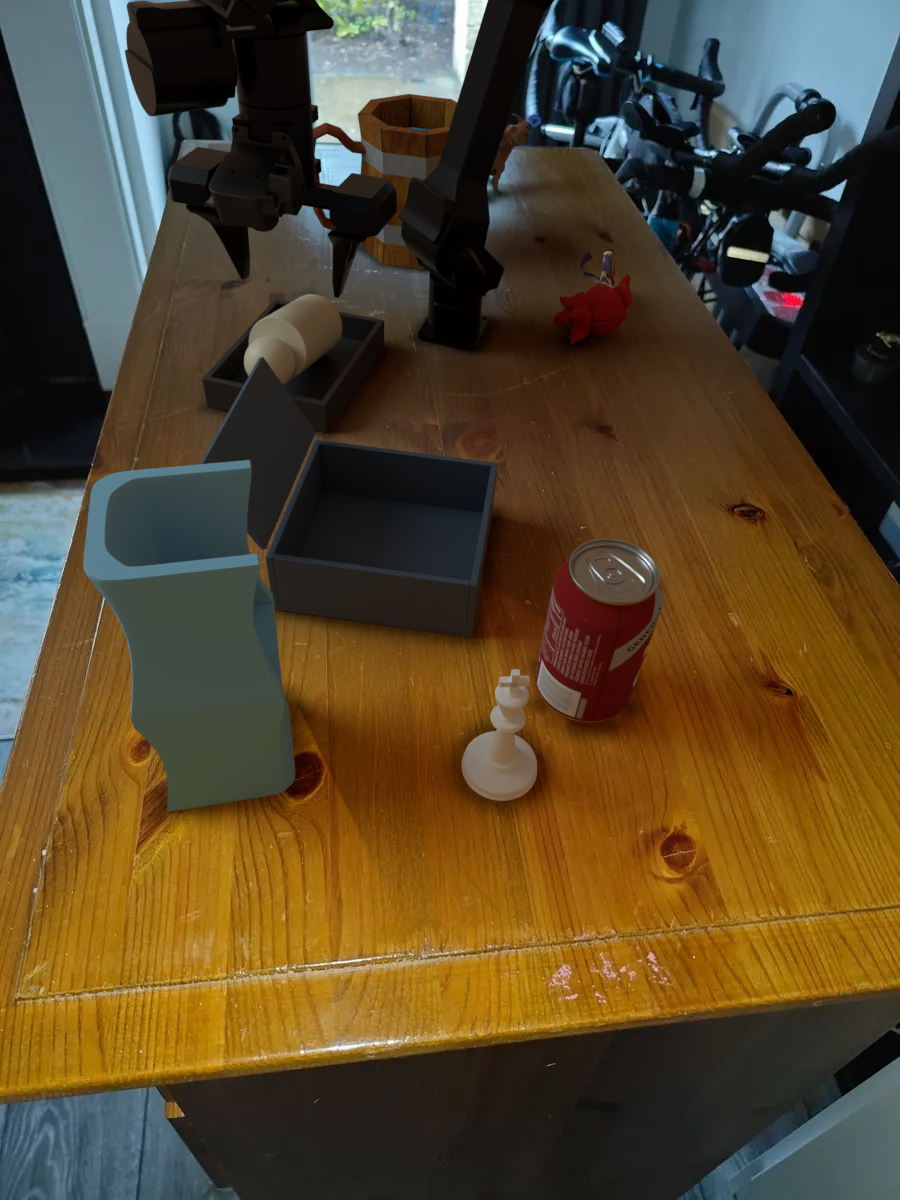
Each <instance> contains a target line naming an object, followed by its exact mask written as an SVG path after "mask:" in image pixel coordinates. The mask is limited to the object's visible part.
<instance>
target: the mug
mask: <svg viewBox="0 0 900 1200" xmlns="http://www.w3.org/2000/svg"><path fill="white" fill-rule="evenodd" d="M457 102H458V101H457V100H454V99H453V98H445V97H437V96H429V95H421V94H414V93H405V94H399V95H392V96H385V97H379V98H371V99H370V100H369V101H368V102H367V103H366V104H365V105H364V106H363V107H362V109H360V111H359V112H358V113H357V118H358V120H357V121H358V126H359V135H360V141H359V140H354V139H352V137H350V136H349V135H348V134H347V133H346V132H345V130H343V129H342V128H341V127H340V126H337V125H334V124H331V123H328V122H324V123H322V124H319V125H318V126H316V127H313V136H314V153H315V154H316V146H317V145H316V144H317V140H318V139H320V138H322V137H323V136H326V135H328V136H331V137H333V138H335V139H337V140H338V141H339V142H340V144H341V145H342V146H343V147H344V148H345V149H347V150H348V151H349V152H351V153H352V154H359V155H361V161H360V162H361V163H360V174H361V175H367V176H373V177H379V178H385V179H389V180H390V181H391V183H392V185H393V186H394V188H395V190H396V192H397V212H396V213H395V215H394V216H393V217H392V218H391V219H390V221H389V222H388V223H387V224H386V225H385V227H384V228H383V229H382V230H381V231H380V233H379V234H378V235H377V236H372V237H367V238H366V240H365V241H363V242H361V247H362V249H363V250H365V251H366V252H367V253H369V254H370V255H371V256H372V257H373V258H374V259H375V260H377V261H378V262H379V263H380V264H381V265H385V266H386V265H387V266H392V267H400V268H407V269H414V270H419V271H427V270H426V269H425V268H424V267H423V266H420V265H418V264H417V262H416V259H415V256H414V254H413V253H412V252H411V251H410V250H409V249H408V248H407V247H406V245H405V243H404V241H403V238H402V237H401V228H402V220H400V219H399V218H398V216H399V214H400V213H401V211H402V210H403V207H404V205H405V202H406V199H407V193H408V186H409V183H410V181H411V179H412V178H413V177H416V178H418V179H420V180H422V181H424V180H425V179H426V178H427V177H428V176H429V175H430V173H431V172H432V171H433V170H434V169H435V168H436V167H437V165H438V163H439V161H440V158H441V155H442V152H443V148H444V145H445V142H446V138H447V135H448V132H449V128H450V125H451V122H452V118H453V115H454V112H455V108H456V105H457ZM316 182H317V183H321V179H320V173H319V174H318V175H317V176H316ZM312 211H313V213H314V214H315V216H316V218H317V220H318V221H319V223H320V225H321V226H322V228H325V229H328V230H330V231H331V230H332V229H333V228H334V227H335V226H334V225H333V224H332V223H331V222H330V217H327V215H326V213H325V210H324V209H320V208H314V207H312Z"/></svg>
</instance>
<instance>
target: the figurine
mask: <svg viewBox="0 0 900 1200" xmlns="http://www.w3.org/2000/svg"><path fill="white" fill-rule="evenodd" d="M614 254H615V251H614V250H612V249H605V250H604V251H603V258H602V261H601V274H600V277H599V276H597V275H595V274H593V273H592V272H588V271H585V270H583V268H584V267H585V266H586V264H587V263H588V262H589V261H591V260H592V259H593V256H592V254H591V249H589V250H588V251H587V252H586V253H585V254H584V255H583V257H582V259H581V261H580V263H579V270H580V271H581V273H582V274H583V275H584V276H585V277H586V276H587V277H592V278H595V279H597V280H595V284H596V285H593V286H591V287H590V288H588V290H587V291H586V292H585V291H580V292H578V293H575V294H574V295H571V296H562V295H559V296H558V297H559V298H558V299H559V302H560V304H561V306H563V308H564V309H562V310H560V311H559V312H557V313H556V314H555V315H554V316H553V325H554V326H556V327H559V328H562V327H563V328H564V327H566V326H568V328H570V342H569V343H570V344H571V345H574V344H575V343H576V342H579V341H583V340H584V339H585V338H587V337H588V336H589V333H590V332H591V333H593V334H594V335H596V336H597V337H598V336H599V337H601V336H609V335H610V334H612V333H614V332H616V331H617V330H618V329H619V328H620V327H621V326H622V325H623V323H624V322H625V319H626V317H627V310H628V309H629V308H630V307H631V306H632V304H633V302H634V296H633V293H632V291H631V286H630V285H631V276H630V275H629V274H628V273H627V274H625V275H624V276H623V277H622V278H621V279H620V280H619V281H618V284H616V286H615V287H614V285H615V276H616V265H615V264H614V265H613V261H612V259H611V257H612V256H614Z"/></svg>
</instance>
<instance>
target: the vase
mask: <svg viewBox="0 0 900 1200" xmlns="http://www.w3.org/2000/svg"><path fill="white" fill-rule="evenodd" d="M251 475H252V468H251V461H250V460H243V461H232V462H221V463H209V464H200V463H199V464H189V465H188V464H187V465H177V466H166V467H155V468H144V469H143V468H142V469H134V470H133V469H132V470H125V471H118V472H113V473H110V474H108V475H105V476H104V477H102V478H100V479H98V480H97V481H96V482H95V483H94V484H93V486H92V488H91V491H90V498H89V505H88V515H87V525H86V534H85V542H84V553H83V570H84V573H85V574H86V576H87V577H88V579H89V580H90V582H91V583H92V584H93V586H94V587H95V588H96V589H97V590H98V592H99V593H100V594H101V596H102V597H103V598H104V600H105V601H106V603H107V604H108V605H109V607H110V609H111V610H112V612H113V613H114V615H115V617H116V618H117V620H118V622H119V623H120V626H121V628H122V632H123V633H124V636H125V638H126V643H127V646H128V652H129V657H130V668H131V704H130V705H131V707H130V721H131V723H132V725H133V728H134V730H135V731H136V732H137V733H138V734H140V735H141V736H142V738H144V740H146V741H147V742H148V744H150V746H151V747H152V748H153V749H154V751H155V752H156V753H157V755H158V756H159V758H160V760H161V763H162V765H163V767H164V772H165V775H166V776H165V777H166V784H167V785H166V786H167V813H170V812H177V811H182V810H183V811H184V810H189V809H196V808H201V807H208V806H215V805H221V804H227V803H233V802H234V803H235V802H239V801H240V802H241V801H244V800H245V801H246V800H253V799H259V798H264V797H269V796H274V795H277V794H281V793H283V792H285V791H286V790H288V789H289V787H291V786H292V784H293V783H294V781H295V779H296V762H295V751H294V744H293V735H292V734H293V733H292V723H291V714H290V713H291V712H290V707H289V703H288V701H287V699H286V696H285V694H284V688H283V687H284V686H283V680H282V668H281V659H280V648H279V639H278V630H277V629H278V628H277V618H276V610H275V607H274V600H273V593H272V592H271V589H270V588H269V587H268V586H267V584H266V583H265V582H264V580H263V579H262V577H261V575H260V572H261V559H260V554H259V553H251V552H250V547H249V545H248V544H249V543H248V542H249V541H248V533H247V514H248V502H249V493H250V484H251Z"/></svg>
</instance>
